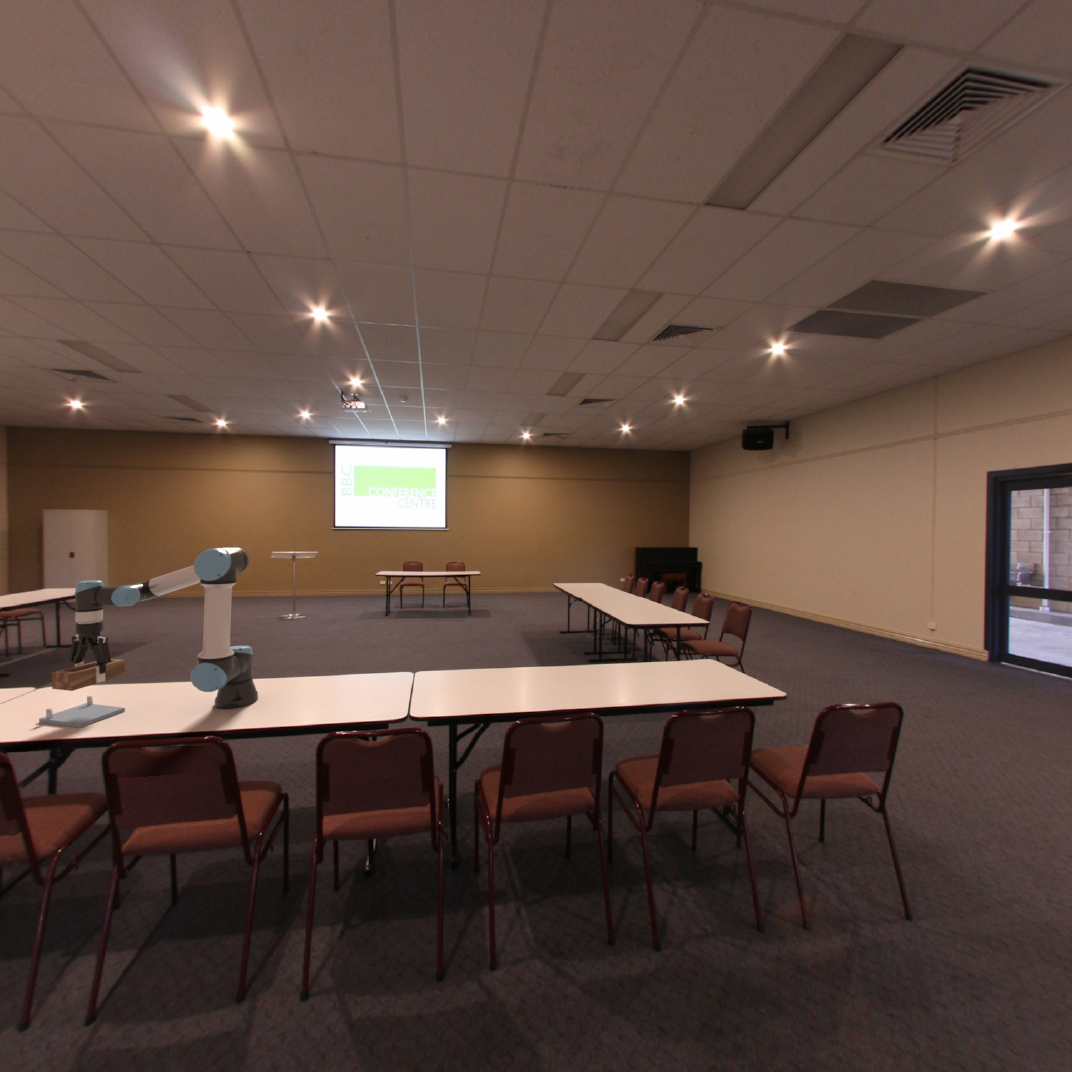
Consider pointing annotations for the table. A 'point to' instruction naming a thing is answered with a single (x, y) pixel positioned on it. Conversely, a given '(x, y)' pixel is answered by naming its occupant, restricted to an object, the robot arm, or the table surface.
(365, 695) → the table surface
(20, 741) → the table surface
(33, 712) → the table surface
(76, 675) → the frame
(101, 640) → the robot arm
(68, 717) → the blue-grey board with posts
